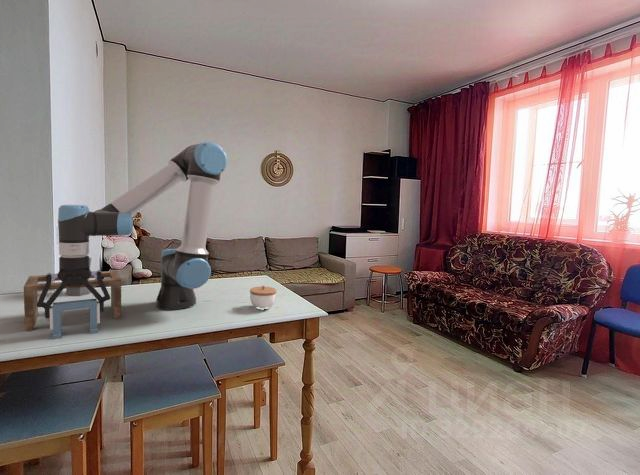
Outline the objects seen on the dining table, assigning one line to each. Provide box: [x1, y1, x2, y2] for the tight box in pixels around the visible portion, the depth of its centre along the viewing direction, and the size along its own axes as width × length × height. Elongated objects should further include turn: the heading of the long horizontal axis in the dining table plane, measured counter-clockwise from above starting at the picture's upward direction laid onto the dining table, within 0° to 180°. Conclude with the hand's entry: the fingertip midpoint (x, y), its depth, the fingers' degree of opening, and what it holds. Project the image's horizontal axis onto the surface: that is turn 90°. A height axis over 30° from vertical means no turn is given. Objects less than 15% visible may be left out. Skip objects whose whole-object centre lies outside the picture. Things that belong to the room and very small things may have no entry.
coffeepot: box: [65, 257, 92, 297], centre depth 146 cm, size 15×9×18 cm, turn 39°
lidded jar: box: [249, 285, 277, 308], centre depth 141 cm, size 11×11×9 cm
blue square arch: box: [52, 298, 99, 340], centre depth 106 cm, size 11×5×10 cm, turn 125°
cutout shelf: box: [23, 270, 122, 332], centre depth 120 cm, size 26×16×14 cm, turn 125°
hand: (75, 325), depth 107 cm, fingers closed on blue square arch, 11 cm apart
